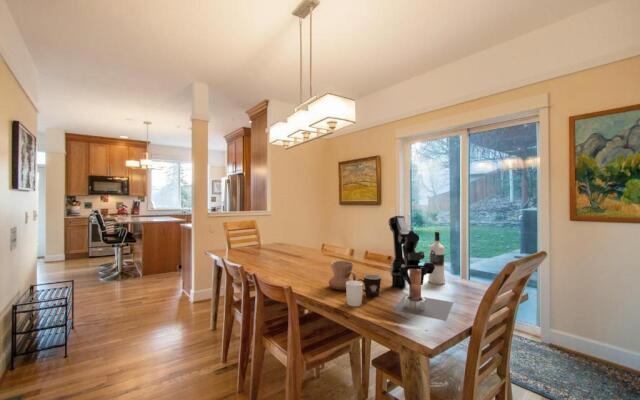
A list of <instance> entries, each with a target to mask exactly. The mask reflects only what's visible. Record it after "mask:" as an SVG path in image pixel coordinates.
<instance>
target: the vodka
mask: <svg viewBox="0 0 640 400" xmlns="http://www.w3.org/2000/svg"><path fill="white" fill-rule="evenodd" d="M429 263H433V264H434V265H435V269H434V271H433V273H432V274H428V282H429V283H430V284H434V285H443V284H445V283H446V277H445V246H444V245H443V244H441V243H440V231H434V242H433V243H432V244H430V245H429Z"/></svg>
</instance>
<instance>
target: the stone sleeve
mask: <svg viewBox="0 0 640 400" xmlns="http://www.w3.org/2000/svg"><path fill="white" fill-rule="evenodd" d="M405 307H406V308H407V309H409V310H413V311H423V310H425V298H423V296H421V298H418V299H416V298H411V297H409V296H406V297H405Z"/></svg>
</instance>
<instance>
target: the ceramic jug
mask: <svg viewBox="0 0 640 400" xmlns="http://www.w3.org/2000/svg"><path fill="white" fill-rule="evenodd" d="M353 266H354V263H353V262H352V261H350V260H334V261H331V263H330V268H331V271H332V272H333V275H334V276H332V277H331V278H330V279H329V280H328V285H329V287H330V288H331V289H333V290H336V291H341V292H342V291H346V282H347V281H357V274H356V272H355V271H354V270H353V269H354V267H353ZM351 274H352V277H351V276H350V275H351Z"/></svg>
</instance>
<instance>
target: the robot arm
mask: <svg viewBox="0 0 640 400" xmlns="http://www.w3.org/2000/svg"><path fill="white" fill-rule="evenodd" d="M407 225H408V224H407V223H406V218H405V216H403V215H395V216H394V217H390V218H389V219H388V226H389V230H390V231H391V233H392V235H393V236H392V237H393V252H394V254H393V255H394V259H393V260H392V263H391V266H390V271H389V273H390V276H391V277H392V279H391V280H392V281H391V285H390V286H391V287H392V288H395V289H396V288H397V289H404V288H405V287H406V286H407V284H408V285H410V279H409V269H413V268H414V269H420V270H421V286H423V284H424V277H425V276H426V275H429V274H432V273H433V271H434V269H435V265H434V264H433V263H430V262H424V263H423V265H419V264H421V260H424V259H426V257H425V252H424V251H418V252H416V248H417V247H418V244H419V240H420V236H419V235H418V234H417V233H415V232H414V230H410V229H409V228H408V226H407Z"/></svg>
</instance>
